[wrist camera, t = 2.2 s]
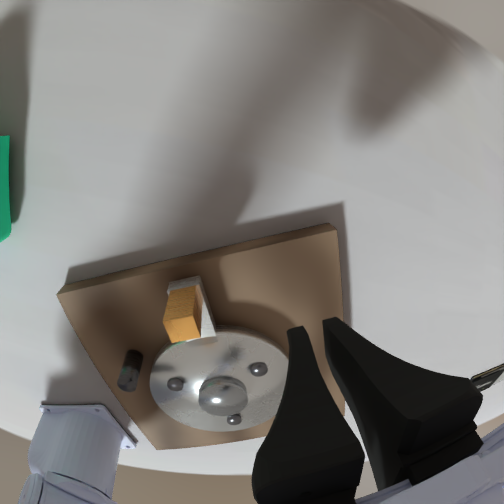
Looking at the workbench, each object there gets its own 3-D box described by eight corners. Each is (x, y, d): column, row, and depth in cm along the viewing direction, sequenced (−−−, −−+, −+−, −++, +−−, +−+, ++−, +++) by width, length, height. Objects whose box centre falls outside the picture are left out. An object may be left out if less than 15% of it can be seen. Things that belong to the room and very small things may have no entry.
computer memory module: (525, 356, 32) (515, 374, 34) (522, 353, 33) (512, 371, 35) (474, 379, 31) (462, 399, 32) (470, 375, 32) (459, 395, 33)
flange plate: (297, 403, 25) (309, 445, 21) (180, 424, 25) (178, 466, 20) (270, 256, 19) (286, 294, 15) (109, 292, 19) (86, 335, 15)
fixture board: (157, 439, 28) (156, 449, 27) (64, 285, 20) (56, 294, 19) (340, 405, 28) (344, 415, 27) (328, 223, 21) (336, 229, 19)
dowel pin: (130, 363, 22) (122, 392, 19) (123, 350, 21) (113, 379, 18) (146, 361, 22) (139, 391, 19) (139, 348, 21) (131, 377, 18)
